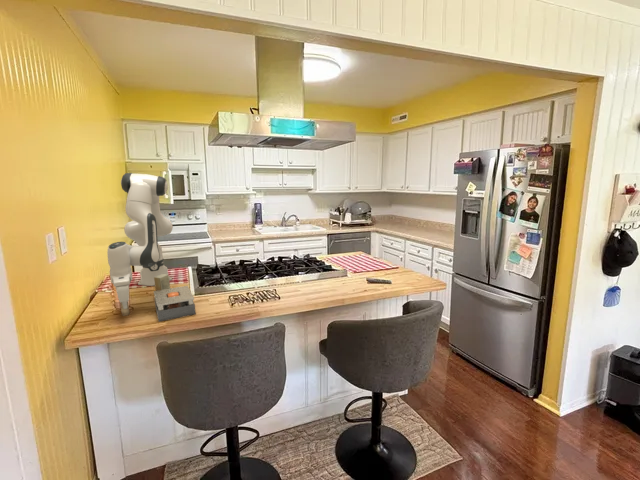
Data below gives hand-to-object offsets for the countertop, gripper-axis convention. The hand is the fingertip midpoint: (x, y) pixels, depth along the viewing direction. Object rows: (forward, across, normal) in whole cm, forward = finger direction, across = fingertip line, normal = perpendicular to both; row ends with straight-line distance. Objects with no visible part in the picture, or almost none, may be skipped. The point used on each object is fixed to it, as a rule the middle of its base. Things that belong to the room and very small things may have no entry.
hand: (125, 305), depth 161 cm
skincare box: (+5, -15, +18) cm, 24 cm away
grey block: (+5, -1, 0) cm, 5 cm away
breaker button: (0, +7, +21) cm, 22 cm away
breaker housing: (+5, +7, +21) cm, 22 cm away
